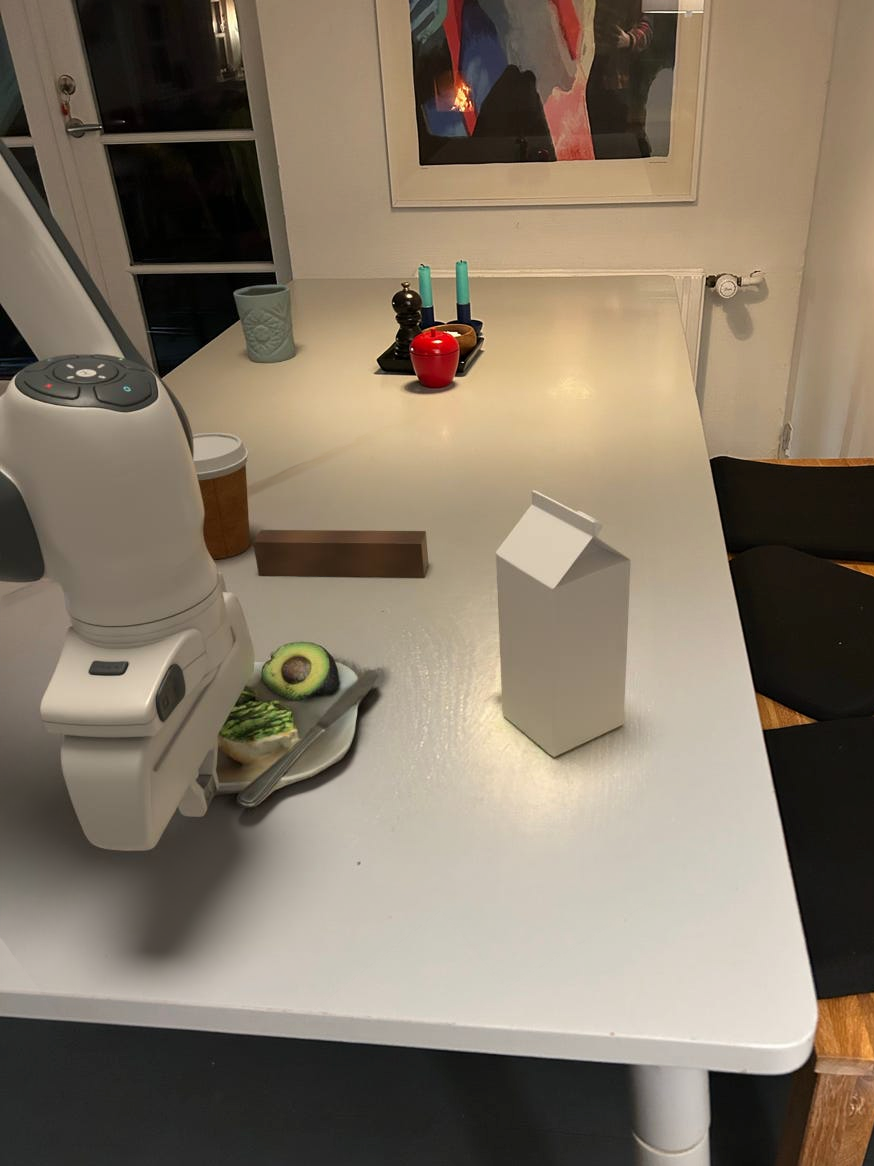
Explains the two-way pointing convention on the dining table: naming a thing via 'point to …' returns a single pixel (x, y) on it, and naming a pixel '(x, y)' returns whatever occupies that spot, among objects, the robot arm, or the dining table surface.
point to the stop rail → (341, 553)
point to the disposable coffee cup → (223, 492)
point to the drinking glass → (266, 322)
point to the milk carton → (562, 627)
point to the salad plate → (289, 721)
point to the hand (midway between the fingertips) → (201, 802)
